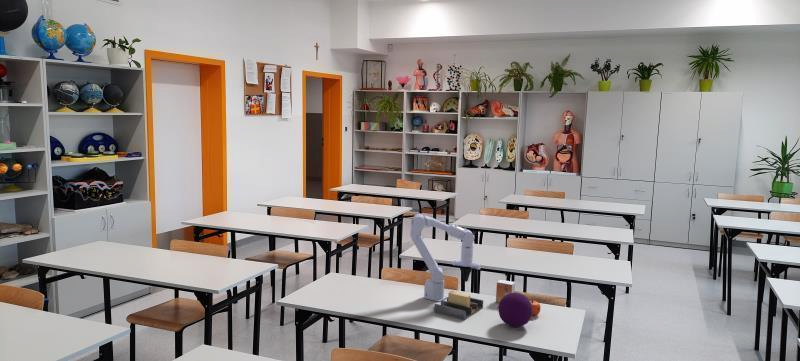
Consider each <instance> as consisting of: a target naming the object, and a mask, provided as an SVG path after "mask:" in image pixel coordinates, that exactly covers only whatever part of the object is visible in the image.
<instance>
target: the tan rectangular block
mask: <svg viewBox="0 0 800 361" xmlns="http://www.w3.org/2000/svg"><path fill="white" fill-rule="evenodd" d="M447 295H448V296H447V297H448V302H452V303H456V304H460V305H464V306H468V307H470V297H471V295H470V294H466V293H461V292H457V291H453V290H452V291H450V292H448V294H447Z"/></svg>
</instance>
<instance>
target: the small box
mask: <svg viewBox="0 0 800 361" xmlns="http://www.w3.org/2000/svg"><path fill="white" fill-rule="evenodd" d="M495 289H496V292H495V303H498V304H499V303H500V301H501V299H502V298H503V297H504V296H505V295H507V294H509V293H514V292H516V281H511V280H510V281H509V280H504V279H499V280H498V281H497V282H496V288H495Z"/></svg>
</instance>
